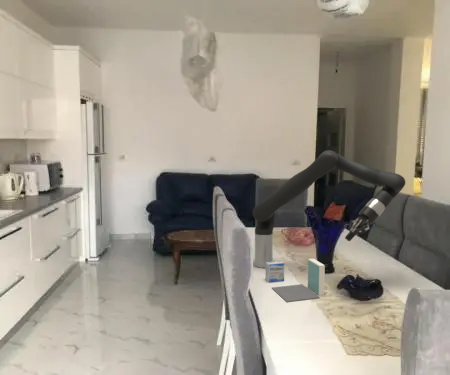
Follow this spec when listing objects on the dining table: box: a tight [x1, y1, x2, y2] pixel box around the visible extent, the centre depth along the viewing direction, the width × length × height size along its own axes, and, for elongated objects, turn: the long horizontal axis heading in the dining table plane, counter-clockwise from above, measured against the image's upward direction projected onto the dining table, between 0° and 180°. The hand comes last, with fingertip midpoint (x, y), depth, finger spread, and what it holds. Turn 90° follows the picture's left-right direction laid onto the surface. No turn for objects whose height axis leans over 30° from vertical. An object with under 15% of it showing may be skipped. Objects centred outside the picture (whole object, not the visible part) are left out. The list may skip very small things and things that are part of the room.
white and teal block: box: [307, 258, 326, 296], centre depth 180 cm, size 10×3×13 cm, turn 16°
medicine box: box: [264, 260, 285, 283], centre depth 194 cm, size 8×4×9 cm, turn 105°
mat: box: [271, 283, 320, 303], centre depth 178 cm, size 16×15×1 cm
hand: (347, 239), depth 182 cm, fingers closed
